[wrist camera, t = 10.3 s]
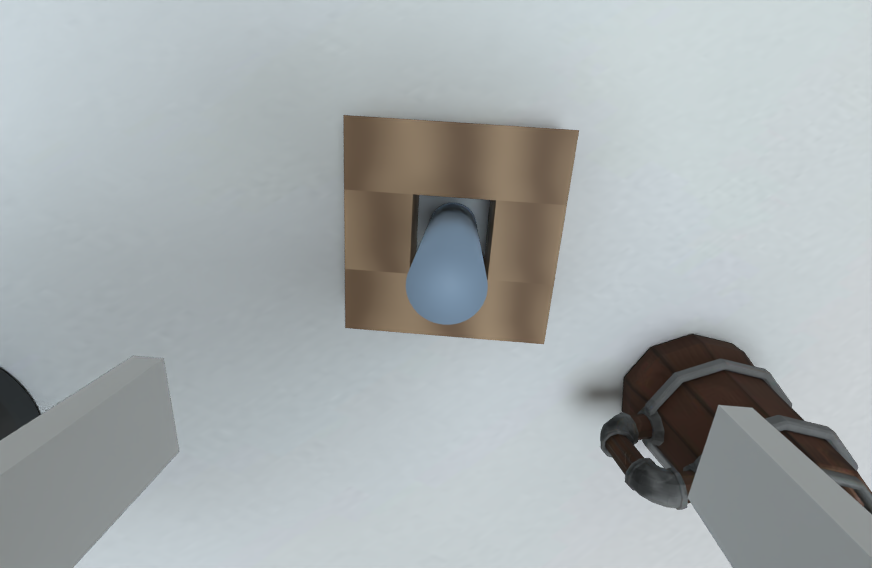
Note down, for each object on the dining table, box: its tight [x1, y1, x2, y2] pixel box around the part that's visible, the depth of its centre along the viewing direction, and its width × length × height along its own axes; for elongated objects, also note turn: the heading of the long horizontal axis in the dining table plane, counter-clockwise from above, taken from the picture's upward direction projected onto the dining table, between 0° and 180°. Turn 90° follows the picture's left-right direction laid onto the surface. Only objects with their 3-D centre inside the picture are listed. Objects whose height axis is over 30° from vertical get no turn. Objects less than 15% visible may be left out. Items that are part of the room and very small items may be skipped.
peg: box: [406, 203, 488, 325], centre depth 28 cm, size 4×4×16 cm
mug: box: [600, 334, 872, 514], centre depth 32 cm, size 16×12×15 cm
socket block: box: [344, 115, 579, 344], centre depth 33 cm, size 16×16×5 cm
